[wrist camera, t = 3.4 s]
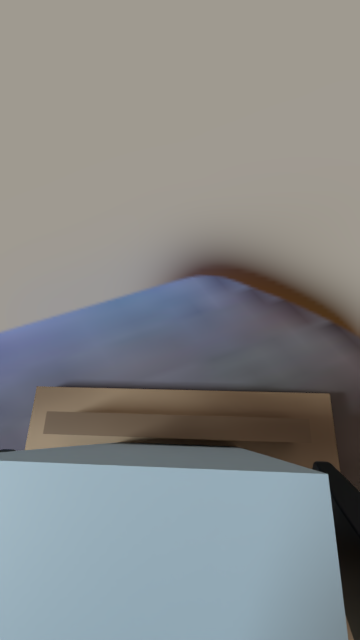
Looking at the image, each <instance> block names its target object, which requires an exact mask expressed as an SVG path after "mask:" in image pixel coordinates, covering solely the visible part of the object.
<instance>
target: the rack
mask: <svg viewBox="0 0 360 640" xmlns="http://www.w3.org/2000/svg"><path fill="white" fill-rule="evenodd" d="M115 442H129V443H157V444H185V445H213V446H236V447H240V448H243V449H246V450H250V451H253V452H256V453H260V454H263V455H266V456H270V457H273V458H276V459H280V460H283V461H286V462H289V463H293V464H296V465H299V466H303V467H306V468H309V469H312V467H313V463H314V462H315V461H326V462H329V463H331V464H332V465H333V466H334V467H335V468H336V469H337V470H338V471H339V472H340V466H339V459H338V451H337V444H336V437H335V429H334V422H333V415H332V407H331V400H330V394H328V393H286V392H245V391H203V390H161V389H120V388H78V387H37V389H36V394H35V399H34V404H33V410H32V415H31V420H30V425H29V430H28V436H27V441H26V446H25V450H33V449H45V448H57V447H69V446H80V445H92V444H104V443H115ZM345 617H346V615H345ZM346 625H347V633H348V640H354V639H353V636H352V633H351V630H350V627H349V624H348V621H347V618H346Z"/></svg>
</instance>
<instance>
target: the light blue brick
mask: <svg viewBox="0 0 360 640" xmlns="http://www.w3.org/2000/svg"><path fill="white" fill-rule="evenodd" d="M0 640H348V633H347V625H346V617H345V609H344V600H343V592H342V584H341V576H340V568H339V560H338V552H337V543H336V535H335V527H334V519H333V511H332V503H331V495H330V486H329V478H328V474H326V473H323V472H319V471H316V470H313V469H309V468H306V467H303V466H299V465H296V464H293V463H289V462H286V461H283V460H280V459H276V458H273V457H270V456H266V455H263V454H260V453H256V452H253V451H250V450H246V449H243V448H240V447H236V446H213V445H185V444H157V443H129V442H115V443H104V444H92V445H80V446H69V447H57V448H45V449H33V450H22V451H10V452H0Z"/></svg>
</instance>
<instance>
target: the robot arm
mask: <svg viewBox="0 0 360 640" xmlns="http://www.w3.org/2000/svg"><path fill="white" fill-rule="evenodd" d="M10 451H15V450H12V449H3V450H0V452H10ZM312 469H313V470H316V471H319V472H323V473H326V474H328V478H329V486H330V495H331V503H332V511H333V519H334V527H335V535H336V543H337V552H338V560H339V568H340V576H341V584H342V592H343V600H344V609H345V615H346V618H347V621H348V624H349V627H350V630H351V633H352V636H353V639H354V640H360V492H359V491H358V490H357V489H356V488H355V487H354V486H353V485H352V484H351V483H350V482H349V481H348V480H347V479H346V478H345V477H344V476H343V475H342V474H341V473H340V472H339V471H338V470H337V469H336V468H335V467H334V466H333V465H332V464H331V463H329V462H326V461H315V462H314V463H313V467H312Z"/></svg>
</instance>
